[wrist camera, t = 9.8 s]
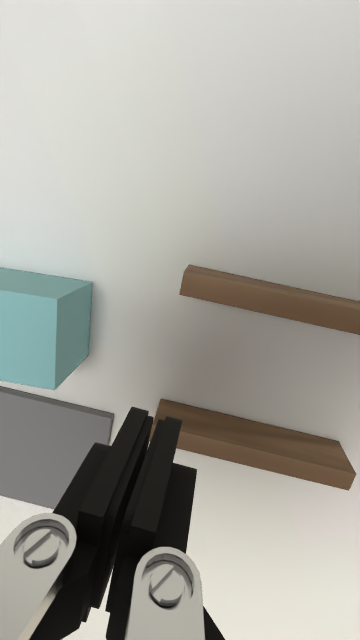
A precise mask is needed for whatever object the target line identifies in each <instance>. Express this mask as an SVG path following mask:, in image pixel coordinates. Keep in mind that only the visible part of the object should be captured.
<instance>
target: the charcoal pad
mask: <svg viewBox="0 0 360 640" xmlns="http://www.w3.org/2000/svg"><path fill="white" fill-rule="evenodd" d="M113 415H114V414H112V413H108V412H104V411H100V410H95V409H91V408H87V407H83V406H79V405H75V404H71V403H67V402H62V401H58V400H54V399H50V398H46V397H42V396H38V395H34V394H30V393H25V392H21V391H17V390H13V389H9V388H5V387H1V386H0V495H1V496H4V497H8V498H12V499H16V500H20V501H24V502H28V503H32V504H35V505H39V506H43V507H47V508H51V509H55V508H56V506H57V504H58V503H59V501H60V499H61V498H62V496H63V494H64V493H65V491H66V489H67V488H68V486H69V484H70V483H71V481H72V479H73V478H74V476H75V474H76V473H77V471H78V469H79V467H80V466H81V464H82V462H83V461H84V459H85V457H86V456H87V454H88V452H89V451H90V449H91V447H92V446H93V444H94V443H96V442H97V443H101V444H105V445H109V440H110V434H111V427H112V421H113Z"/></svg>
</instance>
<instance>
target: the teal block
mask: <svg viewBox="0 0 360 640" xmlns="http://www.w3.org/2000/svg"><path fill="white" fill-rule="evenodd" d="M91 298H92V282H90V281H83V280H77V279H71V278H64V277H58V276H51V275H45V274H39V273H32V272H26V271H20V270H13V269H7V268H1V267H0V381H6V382H11V383H17V384H23V385H28V386H34V387H39V388H45V389H50V390H55V389H56V388H57V387H58V386H59V385H60V384H61V383H62V382H63V381H64V380H65V379H66V378H67V377H68V376H69V375H70V374H71V373H72V372H73V371H74V370H75V369H76V368H77V367H78V365H79V364H80V363H81V362H82V361H83V360H84V359H85V358H86V357H87V356H88V348H89V331H90V315H91Z"/></svg>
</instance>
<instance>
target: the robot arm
mask: <svg viewBox="0 0 360 640" xmlns="http://www.w3.org/2000/svg"><path fill="white" fill-rule="evenodd" d="M153 419H154V417H151V416H148V411H146V410H142V409H138V408H135V407H131V409H130V411H129V413H128V415H127V417H126V419H125V421H124V423H123V425H122V427H121V429H120V430H119V432H118V434H117V436H116V438H115V440H114V442H113V444H112V446H109V445H105V444H101V443H97V442H96V443H94V444H93V446H92V447H91V449H90V451H89V452H88V454H87V456H86V457H85V459H84V461H83V462H82V464H81V466H80V467H79V469H78V471H77V473H76V474H75V476H74V478H73V479H72V481H71V483H70V484H69V486H68V488H67V489H66V491H65V493H64V494H63V496H62V498H61V499H60V501H59V503H58V504H57V506H56V508H55V510H54V511H53V513H43V514H39V515H35V516H32V517H30V518H28V519H26V520H25V521H23V522H22V523H21V524H19V525H18V526H17V527H16V528H15V529H14V530H13V531H12V532H11V533H10V534H9V536H8V537H7V538H6V539H5V540H4V541H3V542H2V544H1V545H0V640H63V638H64V637H66V636H67V635H69V634H71V633H72V632H74V631H75V630H77V629H79V627H80V624H81V621H82V622H86V621H87V618H88V615H89V612H90V609H91V607H94V608H97V609H99V607H100V605H101V602H102V599H103V596H104V593H105V590H106V587H107V584H108V581H109V578H110V575H111V572H112V569H113V572H112V578H111V583H110V588H109V594H108V599H107V604H106V610H105V611H107V612H110V617H109V622H108V627H107V632H106V639H107V640H225V639H224V637H223V635H222V634H221V632H220V631H219V629H218V628H217V626H216V625H215V623H214V622H213V620H212V618H211V617H210V615H209V614H208V612H207V611H206V609H205V608H204V606H203V598H202V583H201V578H200V573H199V571H198V569H197V567H196V565H195V563H194V562H193V561H192V560H191V559H190V558H189V556H188V555H186V548H187V541H188V533H189V526H190V519H191V511H192V504H193V496H194V489H195V482H196V474H197V469H194V468H190V467H186V466H183V465H179V464H175V463H173V459H174V454H175V450H176V446H177V442H178V438H179V433H180V429H181V425H182V421H183V420H181V419H177V418H173V417H169V416H166V418H165V420H162V419H158V422H157V424H156V427H155V430H154V433H153V436H152V439H151V441H150V444H149V439H150V434H151V429H152V424H153ZM148 444H149V447H148ZM147 449H148V450H147ZM113 566H114V567H113Z"/></svg>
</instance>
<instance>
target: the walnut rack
mask: <svg viewBox="0 0 360 640" xmlns="http://www.w3.org/2000/svg"><path fill="white" fill-rule="evenodd" d="M179 295H184V296H188V297H193V298H197V299H202V300H206V301H211V302H215V303H220V304H224V305H229V306H233V307H238V308H242V309H247V310H251V311H255V312H260V313H264V314H269V315H273V316H278V317H282V318H287V319H291V320H296V321H300V322H305V323H309V324H314V325H318V326H323V327H327V328H332V329H336V330H340V331H345V332H349V333H354V334H358V335H360V302H357V301H353V300H348V299H344V298H339V297H334V296H330V295H325V294H321V293H316V292H312V291H307V290H302V289H298V288H293V287H289V286H284V285H280V284H275V283H270V282H266V281H261V280H257V279H252V278H248V277H243V276H239V275H234V274H229V273H225V272H220V271H216V270H211V269H207V268H202V267H197V266H193V265H188V267H187V268H186V270H185V271H184V275H183V280H182V284H181V289H180V294H179ZM166 416H169V417H173V418H177V419H181V420H183V421H182V425H181V429H180V433H179V438H178V442H177V446H176V448H178V449H182V450H186V451H190V452H194V453H198V454H202V455H206V456H210V457H215V458H219V459H223V460H227V461H231V462H235V463H239V464H243V465H247V466H251V467H255V468H259V469H263V470H267V471H272V472H276V473H280V474H284V475H288V476H292V477H296V478H300V479H304V480H308V481H312V482H316V483H320V484H324V485H329V486H333V487H337V488H341V489H345V490H349V489H350V487H351V485H352V482H353V480H354V478H355V475H356V473H355V471H354V469H353V467H352V465H351V464H350V462H349V460H348V458H347V456H346V454H345V452H344V451H343V449H342V447H341V445H340V443H339V441H334V440H330V439H326V438H322V437H318V436H313V435H309V434H305V433H301V432H297V431H293V430H288V429H284V428H280V427H276V426H272V425H267V424H263V423H259V422H255V421H251V420H246V419H242V418H238V417H234V416H230V415H226V414H221V413H217V412H213V411H209V410H205V409H200V408H196V407H192V406H188V405H184V404H180V403H175V402H171V401H167V400H163V399H161V400H160V403H159V406H158V409H157V413H156V416H155V419H154V422H153V425H152V430H151V435H150V440H149V442H150V441H151V439H152V436H153V433H154V430H155V427H156V424H157V422H158V419H162V420H165V418H166Z"/></svg>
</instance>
